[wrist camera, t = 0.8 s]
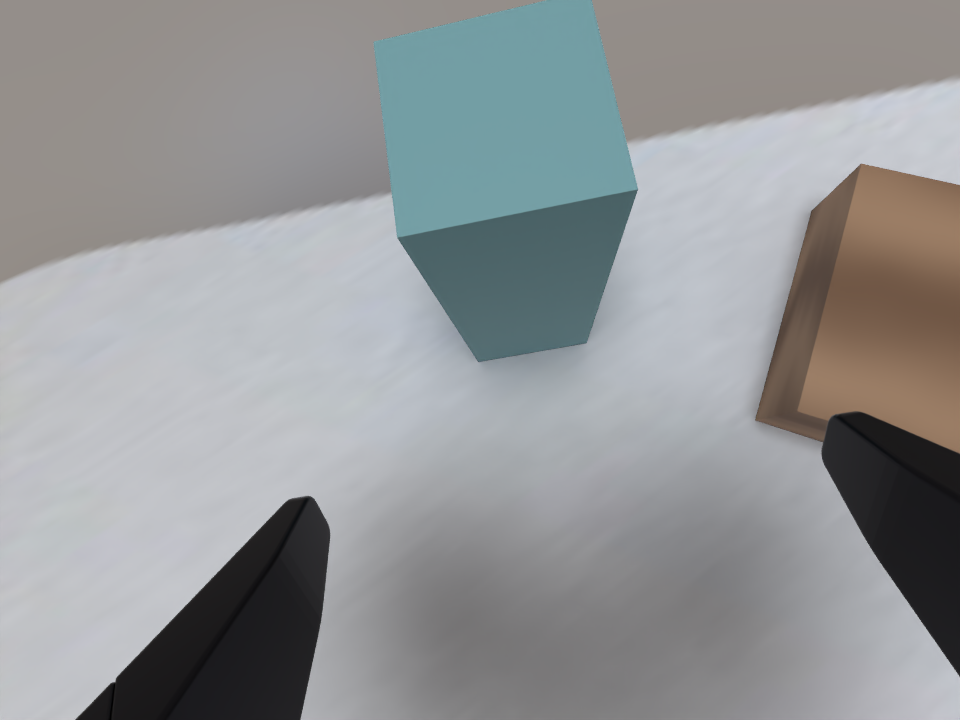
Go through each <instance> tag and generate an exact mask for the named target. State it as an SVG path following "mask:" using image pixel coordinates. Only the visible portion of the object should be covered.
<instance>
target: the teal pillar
mask: <svg viewBox="0 0 960 720" xmlns="http://www.w3.org/2000/svg"><path fill="white" fill-rule="evenodd" d="M374 50H375V58H376V66H377V74H378V83H379V91H380V99H381V108H382V116H383V124H384V132H385V140H386V149H387V157H388V165H389V173H390V182H391V190H392V198H393V206H394V215H395V223H396V231H397V238H398V239H399V241H400V243H401V244H402V246H403V247H404V249H405V250H406V252H407V253H408V255H409V256H410V258H411V259H412V261H413V262H414V264H415V266H416V267H417V269H418V270H419V272H420V273H421V275H422V276H423V278H424V279H425V281H426V282H427V284H428V285H429V287H430V289H431V290H432V292H433V293H434V295H435V296H436V298H437V299H438V301H439V302H440V304H441V305H442V307H443V309H444V310H445V312H446V313H447V315H448V316H449V318H450V319H451V321H452V322H453V324H454V325H455V327H456V328H457V330H458V332H459V333H460V335H461V336H462V338H463V339H464V341H465V342H466V344H467V345H468V347H469V348H470V350H471V351H472V353H473V355H474V356H475V358H476V359H477V361H478V362H481V361H486V360H492V359H498V358H504V357H509V356H515V355H521V354H527V353H532V352H538V351H544V350H550V349H555V348H561V347H567V346H572V345H578V344H584V343H587V340H588V337H589V334H590V331H591V328H592V325H593V322H594V319H595V316H596V313H597V310H598V307H599V304H600V301H601V298H602V295H603V292H604V289H605V286H606V283H607V280H608V277H609V274H610V271H611V268H612V265H613V262H614V259H615V256H616V253H617V250H618V247H619V244H620V241H621V238H622V235H623V232H624V229H625V226H626V223H627V220H628V217H629V214H630V211H631V208H632V205H633V202H634V199H635V196H636V194H637V191H638V188H637V183H636V179H635V175H634V171H633V167H632V163H631V159H630V155H629V151H628V147H627V143H626V139H625V135H624V130H623V127H622V122H621V118H620V115H619V110H618V106H617V102H616V98H615V94H614V90H613V86H612V82H611V77H610V74H609V70H608V65H607V61H606V57H605V53H604V49H603V45H602V41H601V37H600V33H599V29H598V25H597V20H596V17H595V12H594V8H593V4H592V0H546V1H542V2H538V3H534V4H530V5H525V6H521V7H517V8H513V9H508V10H505V11H501V12H496V13H492V14H488V15H484V16H479V17H475V18H471V19H467V20H463V21H458V22H455V23H450V24H446V25H442V26H438V27H433V28H429V29H425V30H421V31H417V32H413V33H408V34H404V35H401V36H396V37H392V38H388V39H383V40H379V41H375V42H374Z"/></svg>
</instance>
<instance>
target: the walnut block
mask: <svg viewBox="0 0 960 720" xmlns="http://www.w3.org/2000/svg"><path fill="white" fill-rule="evenodd" d="M853 411H860V412H863V413H866V414H869V415H871V416H873V417H876V418H878V419H880V420H883V421H885V422H887V423H890V424H892V425H894V426H897V427H899V428H901V429H904V430H906V431H908V432H911V433H913V434H915V435H918V436H920V437H922V438H925V439H927V440H929V441H932V442H934V443H936V444H939V445H941V446H943V447H946V448H948V449H951V450H953V451H955V452H958V453H960V185H956V184H952V183H947V182H943V181H938V180H933V179H929V178H924V177H920V176H915V175H911V174H906V173H901V172H897V171H892V170H888V169H883V168H879V167H874V166H869V165H865V164H860V165H859V166H858V167H857V168H856V169H855V170H854V171H853V172H852V173H851V174H850V175H849V176H848V177H847V178H846V179H845V180H844V181H843V182H842V183H840V184H839V185H838V186H837V187H836V188H835V189H834V190H833V191H832V192H831V193H830V194H829V195H828V196H827V197H826V198H825V199H824V200H823V201H822V202H821V203H820V204H819V205H817V206H816V207H815V208H814V209H813V210H812V212H811V216H810V219H809V223H808V227H807V230H806V234H805V238H804V241H803V245H802V249H801V253H800V256H799V260H798V264H797V267H796V271H795V275H794V278H793V282H792V286H791V290H790V293H789V297H788V301H787V304H786V308H785V312H784V315H783V319H782V323H781V327H780V330H779V334H778V338H777V341H776V345H775V349H774V352H773V356H772V360H771V364H770V367H769V371H768V375H767V378H766V382H765V386H764V389H763V393H762V397H761V401H760V404H759V408H758V412H757V415H756V419H755V420H756V421H759V422H762V423H766V424H769V425H772V426H775V427H778V428H781V429H784V430H787V431H790V432H794V433H797V434H800V435H803V436H806V437H809V438H812V439H815V440H818V441H822V442H824V437H825V433H826V429H827V424H828V421H829V419H830V417H831V416H832V415H835V414H840V413H846V412H853Z"/></svg>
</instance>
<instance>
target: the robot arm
mask: <svg viewBox="0 0 960 720" xmlns="http://www.w3.org/2000/svg"><path fill="white" fill-rule="evenodd" d="M822 460H823V462H824V465H825V467H826V469H827V471H828V472H829V474H830V476H831V478H832V480H833V481H834V483H835V485H836V487H837V489H838V490H839V492H840V494H841V496H842V498H843V500H844V501H845V503H846V505H847V507H848V509H849V510H850V512H851V514H852V516H853V518H854V520H855V521H856V523H857V525H858V527H859V529H860V530H861V532H862V534H863V536H864V537H865V539H866V541H867V543H868V544H869V546H870V548H871V549H872V551H873V552H874V554H875V555H876V557H877V558H878V560H879V561H880V563H881V564H882V566H883V567H884V568H885V570H886V571H887V573H888V574H889V576H890V577H891V578H892V580H893V581H894V583H895V584H896V586H897V587H898V589H899V590H900V591H901V593H902V594H903V596H904V597H905V599H906V600H907V601H908V603H909V604H910V606H911V607H912V609H913V610H914V612H915V613H916V614H917V616H918V617H919V619H920V620H921V622H922V623H923V624H924V626H925V627H926V629H927V630H928V632H929V633H930V635H931V636H932V637H933V639H934V640H935V642H936V643H937V645H938V646H939V647H940V649H941V650H942V652H943V653H944V655H945V656H946V657H947V659H948V660H949V662H950V663H951V665H952V666H953V668H954V669H955V670H956V672H957V673H958V675H959V676H960V453H958V452H955V451H953V450H951V449H948V448H946V447H943V446H941V445H939V444H936V443H934V442H932V441H929V440H927V439H925V438H922V437H920V436H918V435H915V434H913V433H911V432H908V431H906V430H904V429H901V428H899V427H897V426H894V425H892V424H890V423H887V422H885V421H883V420H880V419H878V418H876V417H873V416H871V415H869V414H866V413H863V412H860V411H853V412H846V413H840V414H835V415H832V416H831V417H830V419H829V421H828V424H827V429H826V433H825V437H824V442H823V446H822ZM329 543H330V529H329V525H328V523H327V521H326V519H325V517H324V515H323V514H322V512H321V510H320V508H319V506H318V504H317V503H316V501H315V499H314V498H312V497H311V496H304V497H298V498H292V499H289V500H288V501H286V502H285V503H284V504H283V505H282V506H281V507H280V508H279V509H278V510H277V511H276V513H275V514H274V515H273V516H272V517H271V518H270V519H269V520H268V521H267V522H266V523H265V524H264V525H263V526H262V527H261V528H260V529H259V530H258V531H257V532H256V533H255V534H254V535H253V536H252V537H251V538H250V539H249V541H248V542H247V543H246V544H245V545H244V546H243V547H242V548H241V549H240V550H239V551H238V552H237V553H236V554H235V555H234V556H233V557H232V558H231V559H230V560H229V561H228V562H227V563H226V564H225V565H224V566H223V568H222V569H221V570H220V571H219V572H218V573H217V574H216V575H215V576H214V577H213V578H212V579H211V580H210V581H209V582H208V583H207V584H206V585H205V586H204V587H203V588H202V589H201V590H200V591H199V592H198V593H197V595H196V596H195V597H194V598H193V599H192V600H191V601H190V602H189V603H188V604H187V605H186V606H185V607H184V608H183V609H182V610H181V611H180V612H179V613H178V614H177V615H176V616H175V617H174V618H173V619H172V620H171V621H170V623H169V624H168V625H167V626H166V627H165V628H164V629H163V630H162V631H161V632H160V633H159V634H158V635H157V636H156V637H155V638H154V639H153V640H152V641H151V642H150V643H149V644H148V645H147V646H146V647H145V648H144V650H143V651H142V652H141V653H140V654H139V655H138V656H137V657H136V658H135V659H134V660H133V661H132V662H131V663H130V664H129V665H128V666H127V667H126V668H125V669H124V670H123V671H122V672H121V673H120V674H119V675H118V676H117V678H116V681H115V682H113V683H111V684H110V685H109V686H108V687H107V688H106V689H105V690H104V691H103V692H102V693H101V694H100V695H99V696H98V697H97V698H96V699H95V700H94V701H93V702H92V703H91V704H90V705H89V706H88V707H87V708H86V709H85V710H84V711H83V712H82V713H81V714H80V715H79V716H78V717H77V719H76V720H300V719H301V714H302V709H303V705H304V700H305V695H306V691H307V686H308V681H309V676H310V672H311V667H312V662H313V657H314V653H315V648H316V643H317V639H318V634H319V629H320V623H321V617H322V610H323V601H324V591H325V582H326V572H327V563H328V553H329Z"/></svg>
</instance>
